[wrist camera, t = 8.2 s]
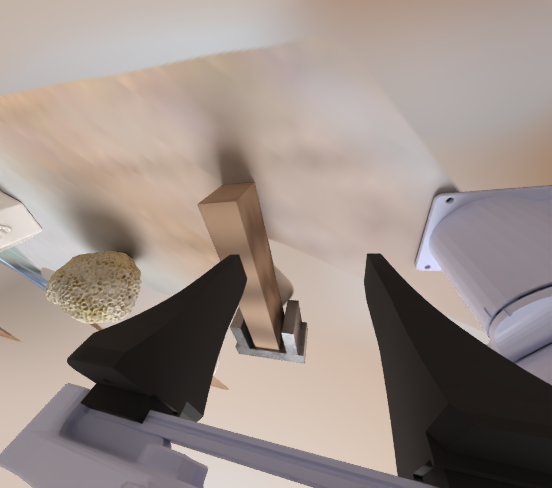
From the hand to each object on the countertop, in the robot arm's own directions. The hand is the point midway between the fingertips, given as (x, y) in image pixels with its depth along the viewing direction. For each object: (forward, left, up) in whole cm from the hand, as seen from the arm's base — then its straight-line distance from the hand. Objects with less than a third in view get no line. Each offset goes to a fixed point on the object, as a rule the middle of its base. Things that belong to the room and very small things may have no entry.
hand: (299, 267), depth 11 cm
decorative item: (+28, +7, -10) cm, 30 cm away
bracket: (+7, +17, -9) cm, 21 cm away
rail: (+7, +9, -10) cm, 15 cm away
